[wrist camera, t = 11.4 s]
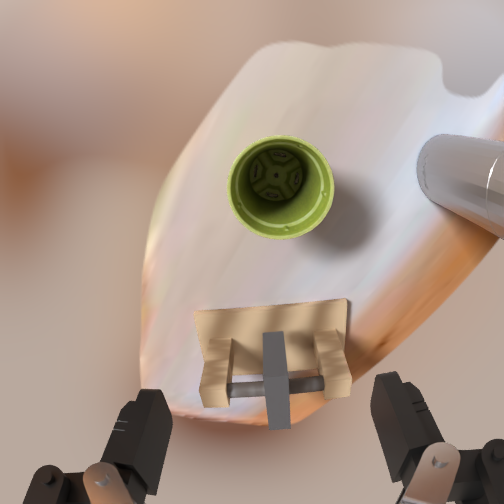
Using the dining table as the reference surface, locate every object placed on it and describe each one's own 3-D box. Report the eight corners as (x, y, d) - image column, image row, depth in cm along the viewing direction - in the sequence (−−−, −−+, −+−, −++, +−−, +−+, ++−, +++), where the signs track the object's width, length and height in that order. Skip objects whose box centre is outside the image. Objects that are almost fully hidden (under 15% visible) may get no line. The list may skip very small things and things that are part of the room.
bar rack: (345, 298, 41) (368, 349, 31) (341, 361, 45) (358, 415, 35) (194, 310, 42) (177, 364, 32) (208, 371, 46) (198, 427, 36)
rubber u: (283, 330, 38) (288, 375, 30) (286, 383, 41) (290, 428, 33) (262, 332, 38) (263, 377, 30) (268, 385, 41) (269, 430, 34)
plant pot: (309, 221, 37) (323, 247, 29) (229, 209, 37) (220, 232, 29) (323, 142, 34) (343, 146, 26) (240, 128, 34) (234, 127, 26)
